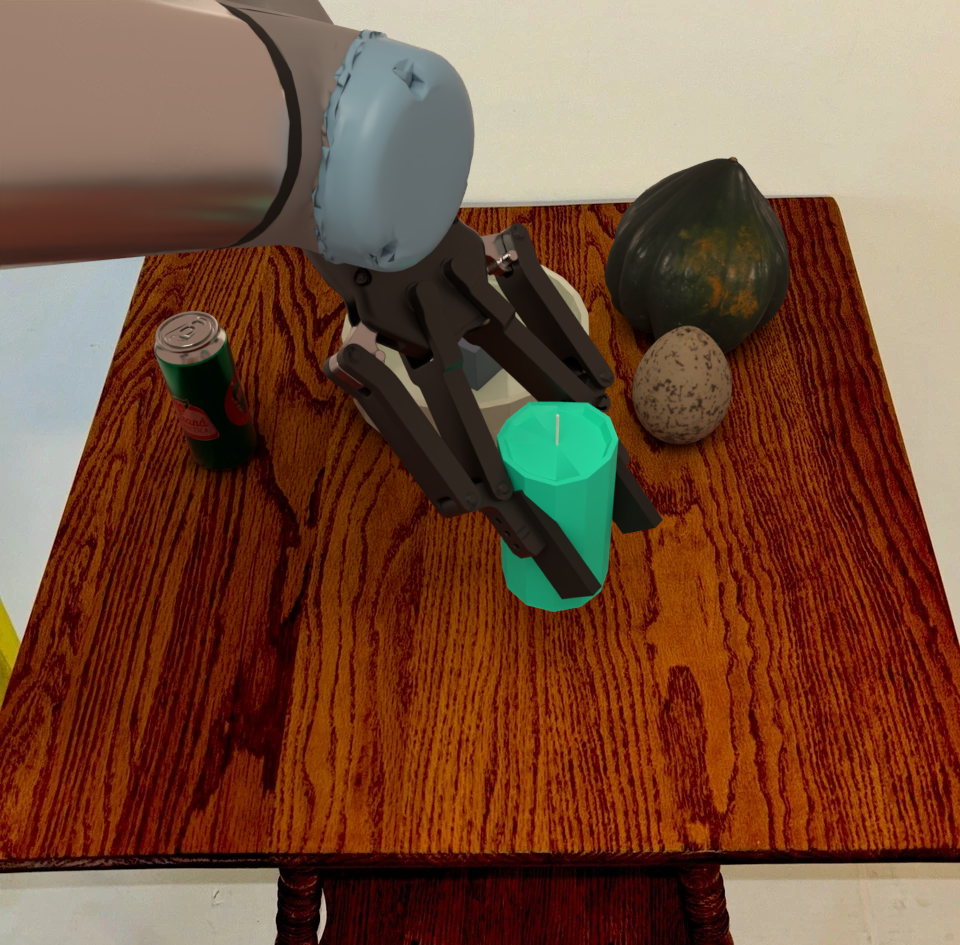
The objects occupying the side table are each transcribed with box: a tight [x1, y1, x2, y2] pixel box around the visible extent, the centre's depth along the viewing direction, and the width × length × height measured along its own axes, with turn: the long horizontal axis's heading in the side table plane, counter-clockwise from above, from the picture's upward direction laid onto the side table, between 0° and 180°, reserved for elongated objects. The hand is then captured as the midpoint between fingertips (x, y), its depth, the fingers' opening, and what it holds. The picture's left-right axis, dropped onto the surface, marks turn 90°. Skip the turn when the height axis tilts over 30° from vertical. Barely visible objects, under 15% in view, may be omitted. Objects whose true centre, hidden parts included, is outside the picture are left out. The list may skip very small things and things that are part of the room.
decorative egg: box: [631, 326, 733, 445], centre depth 76 cm, size 7×7×10 cm
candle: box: [497, 402, 619, 613], centre depth 54 cm, size 6×6×12 cm
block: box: [458, 337, 502, 391], centre depth 83 cm, size 4×4×4 cm
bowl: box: [340, 264, 590, 447], centre depth 83 cm, size 19×19×6 cm
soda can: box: [153, 310, 258, 472], centre depth 76 cm, size 5×5×12 cm
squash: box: [603, 156, 791, 355], centre depth 84 cm, size 14×15×15 cm
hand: (612, 558), depth 54 cm, fingers closed on candle, 5 cm apart
